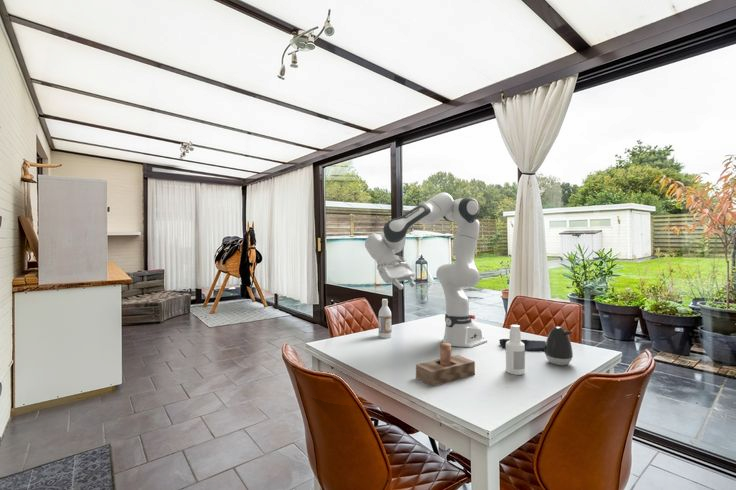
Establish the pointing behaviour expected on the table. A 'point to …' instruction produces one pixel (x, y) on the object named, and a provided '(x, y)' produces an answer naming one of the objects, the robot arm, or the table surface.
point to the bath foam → (385, 320)
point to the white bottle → (515, 352)
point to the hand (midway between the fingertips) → (408, 287)
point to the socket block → (445, 370)
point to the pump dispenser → (558, 347)
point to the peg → (445, 354)
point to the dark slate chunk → (527, 344)
